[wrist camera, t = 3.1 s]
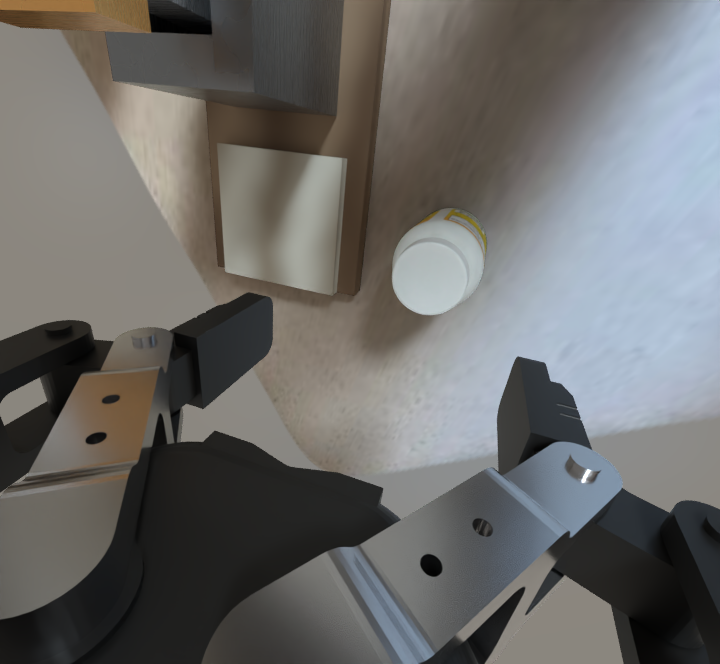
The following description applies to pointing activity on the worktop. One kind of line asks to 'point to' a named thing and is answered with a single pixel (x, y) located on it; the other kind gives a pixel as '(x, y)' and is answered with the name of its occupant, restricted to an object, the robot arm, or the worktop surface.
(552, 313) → the worktop surface
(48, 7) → the plunger
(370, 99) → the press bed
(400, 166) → the worktop surface
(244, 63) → the open box
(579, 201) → the worktop surface
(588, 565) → the robot arm
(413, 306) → the supplement bottle
